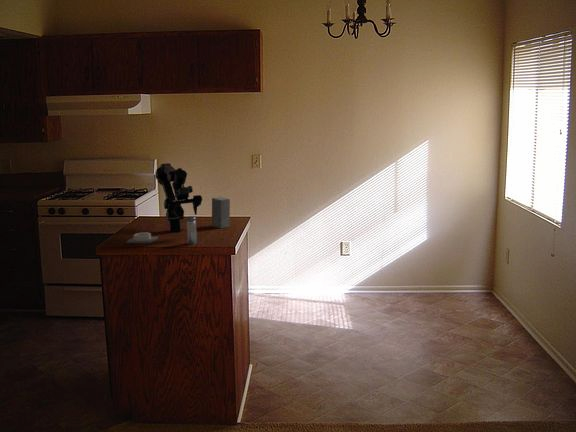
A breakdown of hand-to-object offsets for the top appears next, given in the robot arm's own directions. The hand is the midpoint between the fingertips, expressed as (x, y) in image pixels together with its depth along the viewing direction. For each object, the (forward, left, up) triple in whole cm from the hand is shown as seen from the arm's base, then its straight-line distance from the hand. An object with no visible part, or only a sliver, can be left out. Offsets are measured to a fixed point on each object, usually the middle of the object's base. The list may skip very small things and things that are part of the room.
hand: (187, 215), depth 314 cm
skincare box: (-32, +7, -13) cm, 36 cm away
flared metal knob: (+6, +4, -13) cm, 15 cm away
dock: (+2, -24, -13) cm, 27 cm away
